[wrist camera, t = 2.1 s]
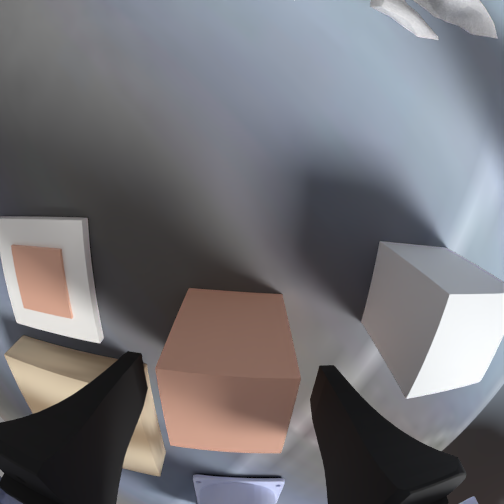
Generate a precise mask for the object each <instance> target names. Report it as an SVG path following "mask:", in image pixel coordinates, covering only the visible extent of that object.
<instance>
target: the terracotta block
mask: <svg viewBox="0 0 504 504" xmlns="http://www.w3.org/2000/svg"><path fill="white" fill-rule="evenodd" d="M155 369H156V375H157V381H158V387H159V393H160V398H161V404H162V409H163V414H164V419H165V423H166V428H167V432H168V437H169V441H170V445H171V446H178V447H185V448H193V449H201V450H211V451H224V452H240V453H281V451H282V448H283V445H284V441H285V438H286V434H287V431H288V427H289V423H290V419H291V416H292V412H293V408H294V404H295V400H296V396H297V392H298V388H299V384H300V380H301V377H300V372H299V368H298V363H297V358H296V354H295V349H294V345H293V340H292V335H291V331H290V326H289V322H288V318H287V313H286V309H285V304H284V300H283V295H282V294H269V293H252V292H237V291H222V290H208V289H196V288H189V289H188V291H187V293H186V295H185V298H184V300H183V302H182V305H181V307H180V309H179V312H178V314H177V317H176V319H175V321H174V324H173V326H172V329H171V331H170V333H169V336H168V338H167V341H166V343H165V346H164V348H163V350H162V353H161V355H160V358H159V360H158V363H157V365H156V368H155Z"/></svg>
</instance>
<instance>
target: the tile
mask: <svg viewBox="0 0 504 504" xmlns="http://www.w3.org/2000/svg"><path fill="white" fill-rule="evenodd" d="M0 255H1V260H2V266H3V271H4V276H5V280H6V285H7V289H8V293H9V297H10V301H11V304H12V308H13V312H14V315H15V318H16V322H17V323H19V324H22V325H26V326H29V327H33V328H36V329H40V330H44V331H47V332H51V333H55V334H59V335H63V336H68V337H72V338H76V339H81V340H85V341H90V342H95V343H101V341H102V340H103V338H104V336H103V331H102V326H101V321H100V316H99V310H98V304H97V298H96V292H95V285H94V278H93V270H92V262H91V252H90V242H89V229H88V218H82V217H29V216H1V217H0Z"/></svg>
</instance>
